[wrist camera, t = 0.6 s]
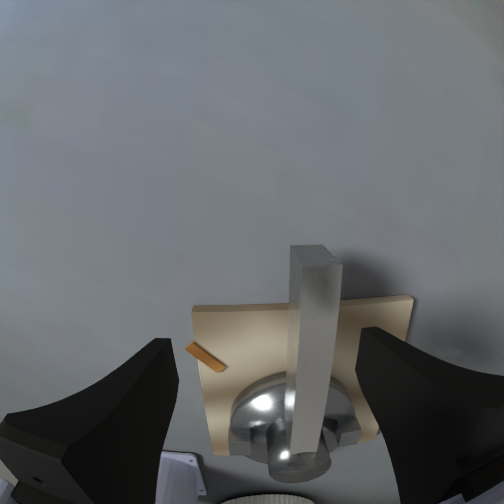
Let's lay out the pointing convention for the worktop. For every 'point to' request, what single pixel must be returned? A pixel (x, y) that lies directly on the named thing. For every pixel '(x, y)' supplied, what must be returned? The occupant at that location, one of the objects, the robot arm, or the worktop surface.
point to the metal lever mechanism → (300, 382)
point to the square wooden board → (280, 352)
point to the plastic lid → (270, 500)
